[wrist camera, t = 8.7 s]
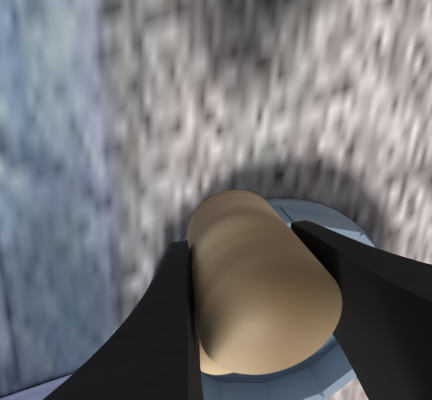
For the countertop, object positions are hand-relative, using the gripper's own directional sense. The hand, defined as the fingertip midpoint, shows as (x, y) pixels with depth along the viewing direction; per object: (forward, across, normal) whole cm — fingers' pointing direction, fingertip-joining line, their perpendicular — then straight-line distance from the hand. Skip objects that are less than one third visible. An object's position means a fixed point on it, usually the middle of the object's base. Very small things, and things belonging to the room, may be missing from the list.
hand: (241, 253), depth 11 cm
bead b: (+2, 0, 0) cm, 2 cm away
